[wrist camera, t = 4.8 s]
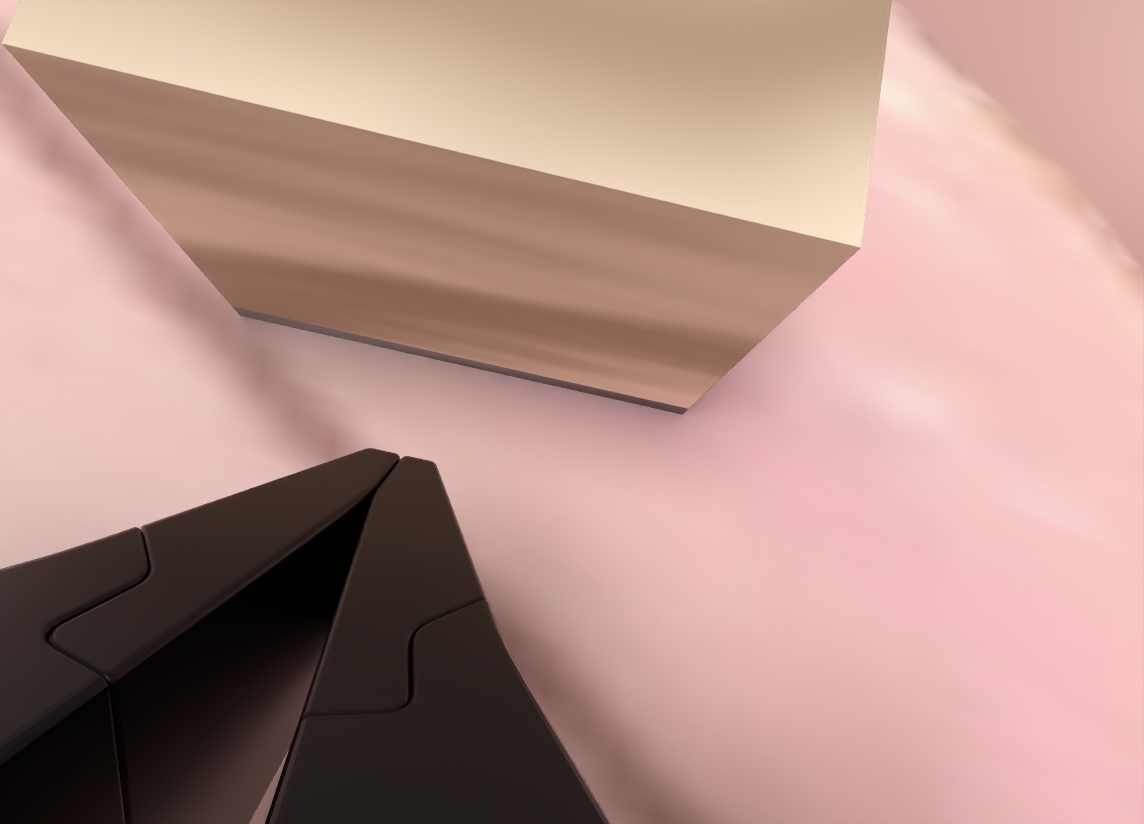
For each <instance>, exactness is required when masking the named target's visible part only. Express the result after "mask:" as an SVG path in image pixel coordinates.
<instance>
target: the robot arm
mask: <svg viewBox="0 0 1144 824" xmlns="http://www.w3.org/2000/svg"><path fill="white" fill-rule="evenodd" d="M289 747H290V749H289ZM288 749H289V752H288V755H287V758H286V761H285V764H284V767H283V770H282V773H281V776H280V779H279V782H278V785H277V788H276V792H275V795H274V798H273V801H272V804H271V807H270V810H269V813H268V816H267V819H266V822H265V824H611V823H610V821H609V819H608V818H607V816H606V814H605V813H604V811H603V809H602V808H601V806H600V804H599V803H598V801H597V799H596V798H595V796H594V794H593V793H592V791H591V789H590V788H589V786H588V784H587V783H586V781H585V779H584V778H583V776H582V774H581V773H580V771H579V769H578V768H577V766H576V764H575V763H574V761H573V759H572V758H571V756H570V754H569V753H568V751H567V749H566V748H565V746H564V744H563V743H562V741H561V739H560V738H559V736H558V734H557V733H556V731H555V729H554V728H553V726H552V725H551V723H550V721H549V720H548V718H547V716H546V715H545V713H544V711H543V710H542V708H541V706H540V705H539V703H538V701H537V700H536V698H535V696H534V695H533V693H532V691H531V690H530V688H529V686H528V684H527V683H526V681H525V679H524V677H523V675H522V674H521V672H520V670H519V668H518V666H517V665H516V663H515V661H514V659H513V657H512V656H511V654H510V652H509V650H508V647H507V645H506V643H505V641H504V638H503V636H502V634H501V631H500V629H499V627H498V625H497V622H496V620H495V617H494V614H493V612H492V609H491V606H490V604H489V602H488V601H487V598H486V596H485V593H484V590H483V588H482V585H481V582H480V580H479V577H478V574H477V572H476V569H475V566H474V564H473V561H472V558H471V556H470V553H469V550H468V548H467V545H466V542H465V540H464V537H463V534H462V532H461V529H460V527H459V524H458V521H457V519H456V516H455V513H454V511H453V508H452V505H451V503H450V500H449V497H448V495H447V492H446V489H445V487H444V484H443V481H442V479H441V476H440V473H439V471H438V468H437V466H436V464H435V463H434V462H432V461H428V460H423V459H419V458H414V457H409V456H405V457H403V458H402V459H400V456H399V455H397V454H395V453H391V452H386V451H382V450H377V449H373V448H368V449H364V450H361V451H358V452H355V453H353V454H350V455H347V456H344V457H341V458H338V459H335V460H332V461H329V462H326V463H324V464H321V465H318V466H315V467H312V468H309V469H306V470H303V471H300V472H297V473H295V474H292V475H289V476H286V477H283V478H280V479H277V480H274V481H271V482H268V483H266V484H263V485H260V486H257V487H254V488H251V489H248V490H245V491H242V492H239V493H236V494H234V495H231V496H228V497H225V498H222V499H219V500H216V501H213V502H210V503H207V504H204V505H202V506H199V507H196V508H193V509H190V510H187V511H184V512H181V513H178V514H175V515H172V516H170V517H167V518H164V519H161V520H158V521H155V522H152V523H149V524H146V525H144V526H142V527H141V529H139V528H137V527H134V528H131V529H128V530H125V531H123V532H120V533H117V534H114V535H111V536H108V537H105V538H102V539H99V540H96V541H93V542H90V543H86V544H83V545H80V546H77V547H74V548H71V549H68V550H65V551H62V552H58V553H55V554H52V555H49V556H45V557H42V558H38V559H35V560H31V561H28V562H24V563H21V564H17V565H13V566H10V567H6V568H3V569H0V824H249V822H250V820H251V819H252V817H253V815H254V813H255V811H256V809H257V807H258V805H259V804H260V802H261V800H262V798H263V796H264V794H265V792H266V790H267V789H268V787H269V785H270V783H271V781H272V779H273V777H274V776H275V774H276V772H277V770H278V768H279V766H280V764H281V762H282V761H283V759H284V757H285V755H286V753H287V751H288Z"/></svg>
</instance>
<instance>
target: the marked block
mask: <svg viewBox="0 0 1144 824" xmlns="http://www.w3.org/2000/svg"><path fill="white" fill-rule="evenodd" d="M891 2H892V0H21V1H20V3H19V5H18V8H17V10H16V12H15V15H14V17H13V19H12V22H11V24H10V26H9V28H8V31H7V33H6V35H5V38H4V40H3V42H2V44H3V45H4V46H5V47H6V49H7V50H8V51H9V52H10V53H11V54H12V55H13V57H14V58H15V59H16V60H17V61H18V62H19V63H20V65H21V66H22V67H23V68H24V69H25V70H26V71H27V73H28V74H29V75H30V76H31V77H32V78H33V79H34V80H35V82H36V83H37V84H38V85H39V86H40V87H41V88H42V90H43V91H44V92H45V93H46V94H47V95H48V96H49V98H50V99H51V100H52V101H53V102H54V103H55V104H56V106H57V107H58V108H59V109H60V110H61V111H62V112H63V114H64V115H65V116H66V117H67V118H68V119H69V120H70V122H71V123H72V124H73V125H74V126H75V127H76V128H77V130H78V131H79V132H80V133H81V134H82V135H83V136H84V138H85V139H86V140H87V141H88V142H89V143H90V144H91V146H92V147H93V148H94V149H95V150H96V151H97V152H98V154H99V155H100V156H101V157H102V158H103V159H104V160H105V162H106V163H107V164H108V165H109V166H110V167H111V168H112V170H113V171H114V172H115V173H116V174H117V175H118V176H119V178H120V179H121V180H122V181H123V182H124V183H125V184H126V186H127V187H128V188H129V189H130V190H131V191H132V192H133V193H134V195H135V196H136V197H137V198H138V199H139V200H140V201H141V203H142V204H143V205H144V206H145V207H146V208H147V209H148V211H149V212H150V213H151V214H152V215H153V216H154V217H155V219H156V220H157V221H158V222H159V223H160V224H161V225H162V227H163V228H164V229H165V230H166V231H167V232H168V233H169V235H170V236H171V237H172V238H173V239H174V240H175V241H176V243H177V244H178V245H179V246H180V247H181V248H182V249H183V251H184V252H185V253H186V254H187V255H188V256H189V257H190V259H191V260H192V261H193V262H194V263H195V264H196V265H197V267H198V268H199V269H200V270H201V271H202V272H203V273H204V275H205V276H206V277H207V278H208V279H209V280H210V281H211V283H212V284H213V285H214V286H215V287H216V288H217V289H218V291H219V292H220V293H221V294H222V295H223V296H224V297H225V299H226V300H227V301H228V302H229V303H230V304H231V305H232V306H233V308H234V309H235V310H236V311H237V312H238V313H239V314H240V316H245V317H249V318H254V319H258V320H263V321H267V322H272V323H276V324H280V325H285V326H289V327H294V328H298V329H303V330H307V331H312V332H316V333H321V334H325V335H330V336H334V337H339V338H343V339H348V340H352V341H357V342H361V343H366V344H370V345H374V346H379V347H383V348H388V349H392V350H397V351H401V352H406V353H410V354H415V355H419V356H424V357H428V358H433V359H437V360H442V361H446V362H451V363H455V364H460V365H464V366H468V367H473V368H477V369H482V370H486V371H491V372H495V373H500V374H504V375H509V376H513V377H518V378H522V379H527V380H531V381H536V382H540V383H545V384H549V385H554V386H558V387H562V388H567V389H571V390H576V391H580V392H585V393H589V394H594V395H598V396H603V397H607V398H612V399H616V400H621V401H625V402H630V403H634V404H639V405H643V406H648V407H652V408H656V409H661V410H665V411H670V412H674V413H679V414H683V413H684V412H685V411H686V410H687V409H688V408H690V407H691V406H692V405H693V404H694V403H695V402H696V401H697V400H698V399H699V398H700V397H701V396H702V395H703V394H705V393H706V392H707V391H708V390H709V389H710V388H711V387H712V386H713V385H714V384H715V383H716V382H717V381H718V380H720V379H721V378H722V377H723V376H724V375H725V374H726V373H727V372H728V371H729V370H730V369H731V368H732V367H733V366H735V365H736V364H737V363H738V362H739V361H740V360H741V359H742V358H743V357H744V356H745V355H746V354H747V353H748V352H750V351H751V350H752V349H753V348H754V347H755V346H756V345H757V344H758V343H759V342H760V341H761V340H762V339H763V338H765V337H766V336H767V335H768V334H769V333H770V332H771V331H772V330H773V329H774V328H775V327H776V326H777V325H778V324H780V323H781V322H782V321H783V320H784V319H785V318H786V317H787V316H788V315H789V314H790V313H791V312H792V311H793V310H795V309H796V308H797V307H798V306H799V305H800V304H801V303H802V302H803V301H804V300H805V299H806V298H807V297H808V296H810V295H811V294H812V293H813V292H814V291H815V290H816V289H817V288H818V287H819V286H820V285H821V284H822V283H824V282H825V281H826V280H827V279H828V278H829V277H830V276H831V275H832V274H833V273H834V272H835V271H836V270H837V269H839V268H840V267H841V266H842V265H843V264H844V263H845V262H846V261H847V260H848V259H849V258H850V257H851V256H852V255H854V254H855V253H856V252H857V251H858V250H859V249H860V248H861V242H862V234H863V226H864V218H865V210H866V202H867V194H868V186H869V178H870V170H871V162H872V154H873V146H874V138H875V130H876V122H877V114H878V106H879V98H880V90H881V82H882V74H883V66H884V58H885V50H886V42H887V34H888V26H889V18H890V10H891Z"/></svg>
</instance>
